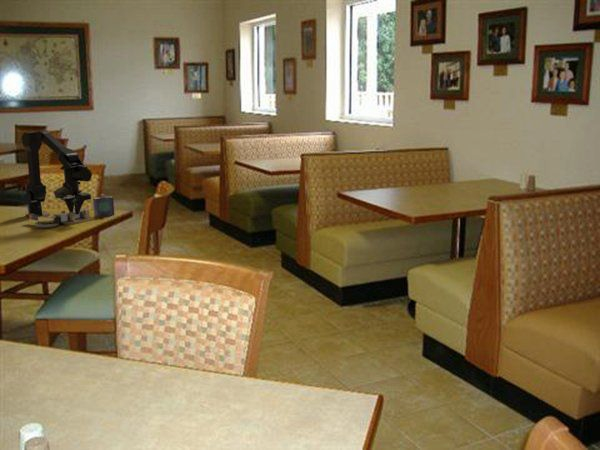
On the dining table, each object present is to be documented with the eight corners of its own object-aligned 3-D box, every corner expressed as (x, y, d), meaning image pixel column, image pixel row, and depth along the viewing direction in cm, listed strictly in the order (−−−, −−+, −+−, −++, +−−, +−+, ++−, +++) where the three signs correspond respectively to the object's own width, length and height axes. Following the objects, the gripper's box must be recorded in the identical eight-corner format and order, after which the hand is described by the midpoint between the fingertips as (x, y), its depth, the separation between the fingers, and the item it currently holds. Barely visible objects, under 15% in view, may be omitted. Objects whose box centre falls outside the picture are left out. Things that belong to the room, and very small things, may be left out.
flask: (94, 217, 288) (93, 195, 286) (94, 216, 291) (92, 194, 289) (115, 215, 292) (113, 193, 290) (114, 214, 295) (112, 192, 292)
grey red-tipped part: (58, 221, 271) (58, 215, 271) (44, 224, 266) (44, 218, 265) (37, 217, 280) (37, 212, 279) (23, 220, 274) (23, 214, 273)
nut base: (30, 227, 270) (28, 212, 268) (50, 222, 278) (48, 208, 276) (44, 229, 264) (42, 215, 263) (64, 225, 272) (62, 211, 271)
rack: (55, 223, 277) (54, 212, 276) (81, 217, 289) (80, 206, 287) (68, 225, 272) (67, 214, 271) (94, 219, 284) (93, 209, 283)
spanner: (54, 220, 274) (53, 214, 274) (83, 215, 287) (82, 208, 286) (61, 222, 271) (60, 215, 271) (90, 216, 284) (90, 210, 284)
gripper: (42, 180, 275) (46, 214, 278) (69, 184, 265) (72, 219, 268) (64, 177, 284) (67, 210, 287) (90, 180, 274) (93, 215, 277)
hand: (74, 213), depth 280 cm, fingers open, 4 cm apart
